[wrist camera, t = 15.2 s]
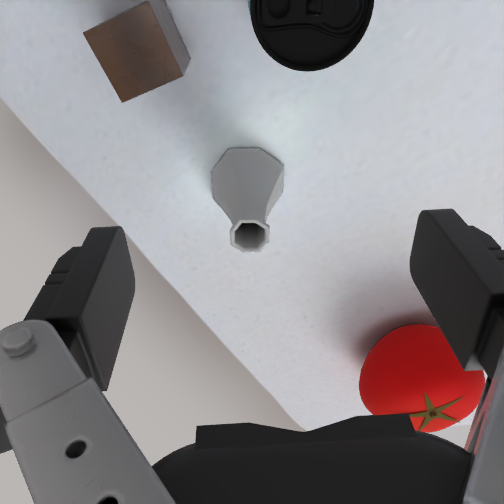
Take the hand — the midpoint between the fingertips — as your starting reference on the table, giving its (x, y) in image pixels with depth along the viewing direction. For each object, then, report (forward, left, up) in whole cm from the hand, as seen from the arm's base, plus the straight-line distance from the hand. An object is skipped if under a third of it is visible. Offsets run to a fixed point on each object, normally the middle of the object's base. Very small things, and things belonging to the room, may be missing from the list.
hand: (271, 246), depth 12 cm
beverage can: (+3, +4, -29) cm, 29 cm away
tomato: (+19, -36, -29) cm, 50 cm away
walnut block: (-8, +1, -29) cm, 30 cm away
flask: (-1, -12, -29) cm, 31 cm away
